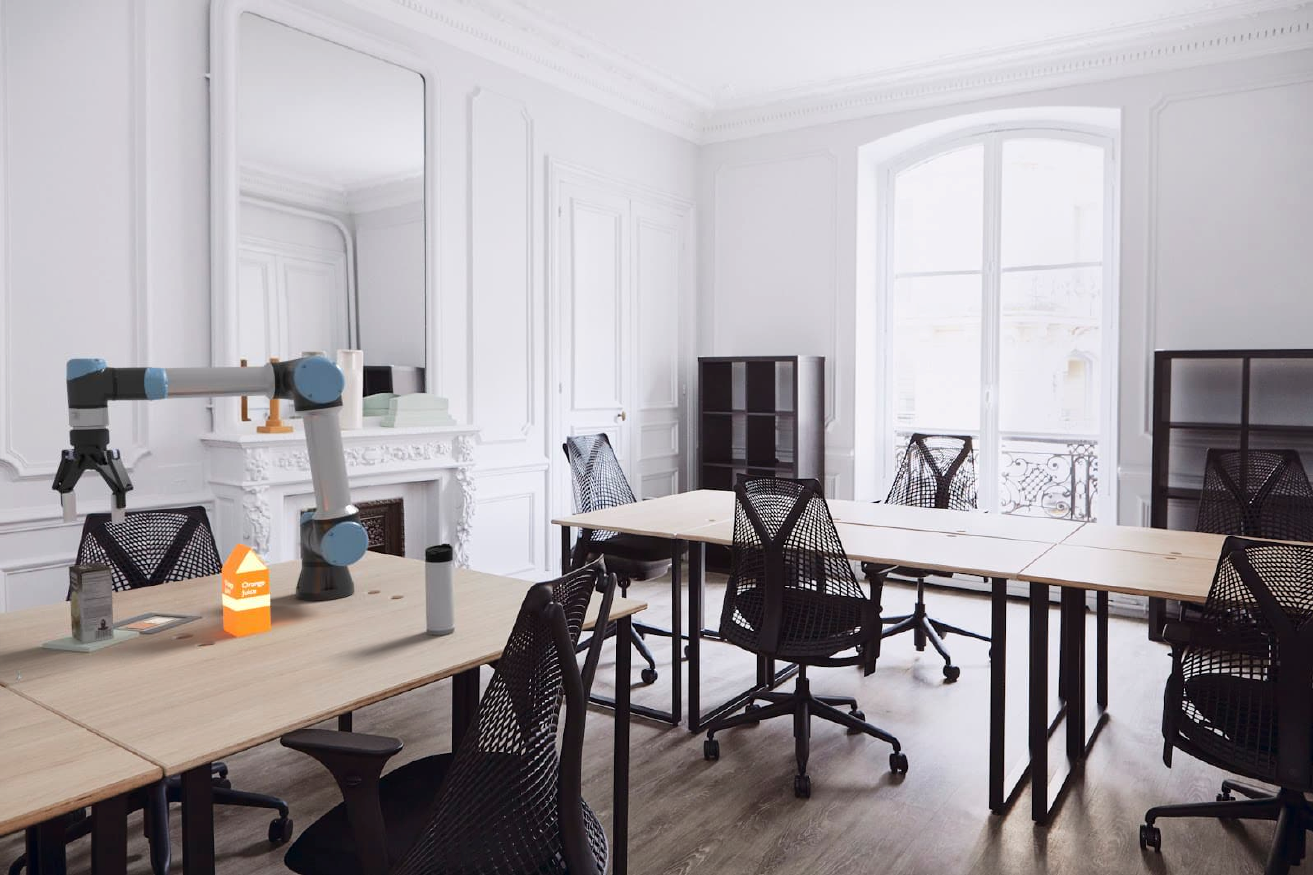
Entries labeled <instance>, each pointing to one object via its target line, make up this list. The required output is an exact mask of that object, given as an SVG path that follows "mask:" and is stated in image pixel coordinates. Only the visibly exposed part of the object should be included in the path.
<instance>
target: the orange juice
mask: <svg viewBox="0 0 1313 875" xmlns="http://www.w3.org/2000/svg"><path fill="white" fill-rule="evenodd" d="M221 580H222V581H221V583H222V585H221V588H222V610H223V611H222V614H223V617H222V618H223V631H226V632H227V633H229V634H230V635H233V636H234V637H237V638H239V637H244V636H245V637H246V636H250V635H255V634H260V633H264V632H265V633H266V632H270V631H271V632H272V628H271V624H272V623H271V594H270V569H269V568H268V567H267V566H266V565H265V563H264V562H263V561H262V560H261V558H260V557H259V556H258V555H257V554H256V553H255V551H254V550H253V549H252V547H250V546H248V545H246V544H245V545H244V544H242V543H237V544H236V545H235V547H234V548H233V550H232V552H231V553H230V554H229V556H228V558H227V559H226V561H225V563H224V564H223V565H222V568H221Z"/></svg>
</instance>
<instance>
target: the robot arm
mask: <svg viewBox="0 0 1313 875" xmlns="http://www.w3.org/2000/svg"><path fill="white" fill-rule="evenodd" d="M65 380H66V394H67V395H66V396H67V406H68V425H69V427H70V428H72V429H69V431H68V432H69V445H70V446H71V447H73V448H69V449H68V448H67V449H62V450H61V455H60V461H59V465H58V467H57V468H58V469H56V470H57V471H56V474H55V477H54V480H53V482H52V485H51V490H53V491H58V493H59V494H60V505H61V506H60V507H61V508H62V521H63V523H71V522H77V521H78V519H77V518H78V516H77V500H76V499H77V498H76V491H75V490H74V488H75V486H76V485H77V483H78V481H80V479H81V477H82V475H83V474H84V472H85V471H87V470H90V471H95V472H97V473H99V475H100V476H101V477H102V479H103V480H104V481H105V483H106V485H107V486H108V487H109V489H111V491H112V493H111V494H110V507H111V508H110V509H111V524H112V525H118V524H123V523H126V516H125V515H126V513H125V509H126V506H127V498H126V494H127V493H128V492H130V491H134V485H133V482H132V481H131V479H130V476H129V474H128V471H127V470H126V468H125V465H124V463H123V461H122V458H121V452H120V449H119V448H116V449H115V448H113V449H108V448H107V446H108V445H109V444H110V443H111V442H110V440H111V439H110V429H109V428H107V427H108V426H109V425H110V420H109V405H108V402H111V401H113V402H114V401H150V402H152V401H157V400H158V401H159V400H164V399H166V400H167V399H169V400H170V399H195V398H196V399H197V398H199V399H200V398H225V397H226V398H228V397H257V396H258V397H259V396H260V397H261V396H265V397H266V398H268V400H289V401H293V406H294V412H295V413H296V414H297V415H298V416H300V417H301V418H302V421H303V428H304V434H305V435H304V436H305V442H306V448H307V454H308V461H309V468H310V473H311V480H312V486H313V494H314V498H315V504H316V505H315V506H316V511H310V512H304V513H302V515H301V516H300V522H299V528H300V546H301V547H300V549H301V551H300V552H301V553H300V554H301V555H300V556H301V570H300V573H299V577H298V580H297V584H296V586H295V598H296V599H298V600H303V601H327V600H335V599H340V598H346V597H348V596H352V595H353V594H354V593H355V583H354V581H353V577H352V575H351V572H350V569H349V567H348V566H351V565H353V564H355V563H357V562H358V561H360V560H361V559H362V558H363V557H364V555H365V554H366V552H367V551H368V547H369V536H368V532H367V530H366V529H365V527H363V526H362V523H361V516H360V510H359V508H357V507H356V506H355V505H353V503H352V499H351V491H350V484H349V478H348V472H347V470H348V469H347V465H346V458H345V450H344V444H343V438H342V431H341V430H342V429H341V425H340V424H341V423H340V417H339V413H340V411H341V410H342V409H343V407H344V402H343V397H342V395H343V394H342V393H343V392H344V389H345V384H346V380H345V374H344V372H343V370H342V369H341V367H340V366H339V364H337V363H336V362H335V361H334V360H332V359H330V358H328V357H324V356H320V355H311V356H305V357H299V358H294V359H289V360H285V361H276V362H275V361H274V362H273V361H272V362H270V361H268V362H266V363H265V364H264V365H263V366H217V367H216V366H214V367H213V366H212V367H210V366H209V367H208V366H207V367H153V366H147V367H143V366H142V367H111V366H110V367H109V366H107V363H106V360H105V359H103V358H71V359H69V360H68V361H67V362H66V378H65Z"/></svg>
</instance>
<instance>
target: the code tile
mask: <svg viewBox="0 0 1313 875" xmlns="http://www.w3.org/2000/svg"><path fill="white" fill-rule="evenodd" d="M152 617H155V618H153V619H150V620H147V619H149V618H152ZM163 617H167V618H163ZM174 618H179V619H178V620H175V619H174ZM199 619H203V616H198V615H185V614H173V613H172V614H171V613H161V612H160V613H159V612H147V613H143V614H140V615H137V616H133V617H129V618H126V619H124V620H120V621H118V622H113V630H125V631H137V632H139V634H142V635H154V634H156V633H161V632H163V631H165V630H170V629H172V628H175V627H178V626H182V625H185V624H188V623H190V622H194V621H196V620H199ZM143 620H145V621H143ZM173 620H175V621H173ZM140 621H143V622H140ZM136 622H140V623H136ZM167 622H169V623H167ZM133 623H136V624H133ZM164 623H165V624H164ZM130 624H133V625H130ZM161 624H162V625H161ZM126 625H130V626H126ZM157 625H158V626H157ZM159 625H160V626H159ZM123 626H126V627H125V628H120V627H123ZM154 626H155V627H154ZM149 628H150V629H149ZM145 629H146V630H145Z"/></svg>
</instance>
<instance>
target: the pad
mask: <svg viewBox="0 0 1313 875" xmlns="http://www.w3.org/2000/svg"><path fill="white" fill-rule="evenodd" d="M113 633H114V638H111V639H106V640H101V641H95V642H90V643H85V644H83V643H82V642H80V641H79V640H77V639H76V638H75V637H73V636H72V634H70V635H66V636H62V637H58V638H56V639H52V640H49V641H46V642H42V649H51V650H60V651H61V650H62V651H63V650H64V651H74V652H81V653H83V652H85V653H91V652H94V651H98V650H101V649H103V648H107V647H110V646H113V645H116V644H119V643H122V642H124V641H125V642H126V641H128V640H129V641H130V640H131V639H135V638H138V637H140V633H139V632H137V631H125V630H113Z"/></svg>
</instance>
